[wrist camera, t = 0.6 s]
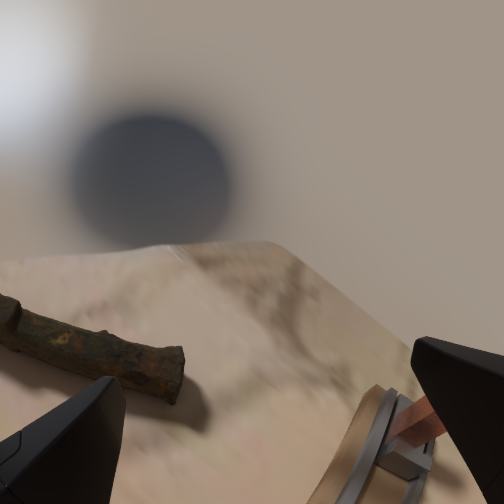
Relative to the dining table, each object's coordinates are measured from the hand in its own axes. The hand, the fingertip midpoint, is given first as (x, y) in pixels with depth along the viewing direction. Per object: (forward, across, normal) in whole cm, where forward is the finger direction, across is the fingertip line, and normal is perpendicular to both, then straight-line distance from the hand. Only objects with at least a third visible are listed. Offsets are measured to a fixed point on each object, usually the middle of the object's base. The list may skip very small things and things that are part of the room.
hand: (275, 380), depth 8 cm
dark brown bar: (+10, +15, +6) cm, 19 cm away
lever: (+7, -12, +16) cm, 21 cm away
